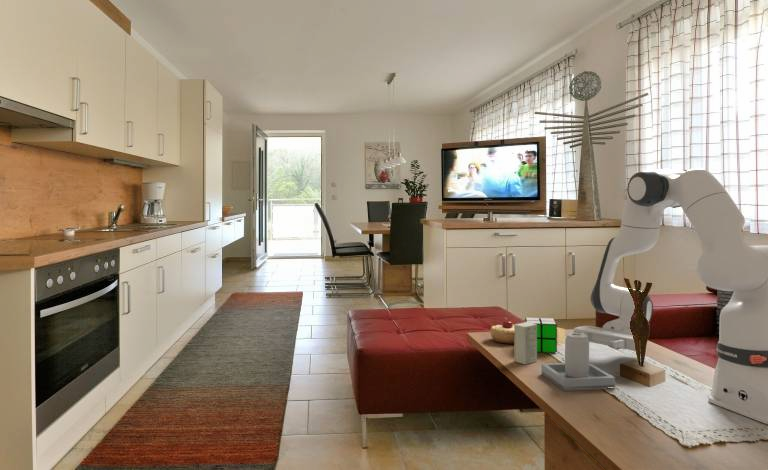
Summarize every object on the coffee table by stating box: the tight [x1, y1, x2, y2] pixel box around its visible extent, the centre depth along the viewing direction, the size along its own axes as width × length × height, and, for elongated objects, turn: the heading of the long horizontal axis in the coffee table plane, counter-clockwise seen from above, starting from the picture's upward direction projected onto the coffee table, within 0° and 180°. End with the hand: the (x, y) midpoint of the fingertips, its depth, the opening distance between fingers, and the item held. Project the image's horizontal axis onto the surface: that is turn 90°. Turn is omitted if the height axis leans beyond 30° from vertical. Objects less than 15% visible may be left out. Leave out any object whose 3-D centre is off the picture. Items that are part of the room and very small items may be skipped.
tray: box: [541, 362, 616, 392], centre depth 143 cm, size 14×14×3 cm
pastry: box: [490, 316, 515, 345], centre depth 188 cm, size 12×12×9 cm
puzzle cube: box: [524, 317, 558, 354], centre depth 177 cm, size 10×10×10 cm
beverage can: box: [564, 332, 590, 378], centre depth 143 cm, size 6×6×12 cm
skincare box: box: [513, 321, 538, 365], centre depth 162 cm, size 6×4×12 cm
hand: (596, 342), depth 150 cm, fingers open, 8 cm apart
